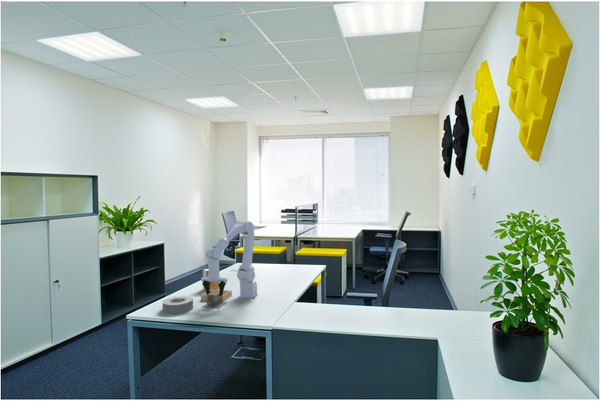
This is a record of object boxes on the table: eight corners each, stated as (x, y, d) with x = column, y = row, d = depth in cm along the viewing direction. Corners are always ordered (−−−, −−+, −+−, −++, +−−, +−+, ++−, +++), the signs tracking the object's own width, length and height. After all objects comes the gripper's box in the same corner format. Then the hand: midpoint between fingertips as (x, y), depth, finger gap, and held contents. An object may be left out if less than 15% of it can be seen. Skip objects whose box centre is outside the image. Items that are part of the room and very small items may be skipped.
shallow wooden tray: (231, 296, 222) (231, 290, 221) (222, 302, 210) (222, 296, 210) (211, 295, 225) (211, 289, 225) (200, 301, 213) (200, 295, 213)
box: (222, 302, 208) (222, 291, 208) (215, 306, 200) (215, 295, 200) (214, 301, 209) (214, 291, 209) (207, 306, 202) (207, 294, 201)
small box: (206, 291, 233) (206, 270, 233) (203, 289, 238) (202, 269, 238) (219, 289, 238) (218, 269, 237) (215, 287, 243) (215, 267, 243)
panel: (227, 303, 208) (227, 302, 208) (219, 308, 198) (218, 307, 198) (210, 302, 211) (210, 301, 211) (201, 307, 201) (201, 306, 201)
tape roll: (187, 314, 191) (187, 304, 191) (157, 314, 191) (157, 304, 191) (196, 305, 206) (196, 296, 206) (168, 305, 207) (168, 296, 207)
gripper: (198, 271, 202) (198, 296, 202) (222, 272, 198) (223, 297, 199) (204, 268, 209) (205, 292, 209) (228, 269, 205) (229, 294, 206)
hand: (214, 295), depth 204 cm, fingers open, 7 cm apart
